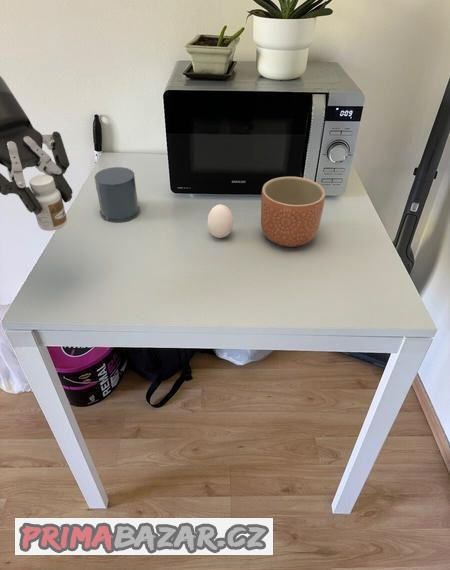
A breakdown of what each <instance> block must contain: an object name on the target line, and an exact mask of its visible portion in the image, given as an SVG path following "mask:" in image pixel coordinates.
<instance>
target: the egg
mask: <svg viewBox="0 0 450 570" xmlns="http://www.w3.org/2000/svg"><path fill="white" fill-rule="evenodd" d="M233 227H234V218H233V214H232V212H231V210H230V208H229V207H227V206H226V205H224V204H216V205H215V206H213V208H211V209H210V211H209V212H208V216H207V228H208V230H209V232H210V234H211V235H212V236H214V237H216V238H218V239H221V238H225V237H227V236H228V235H229V234H230V233H231V232H232V230H233Z"/></svg>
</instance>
